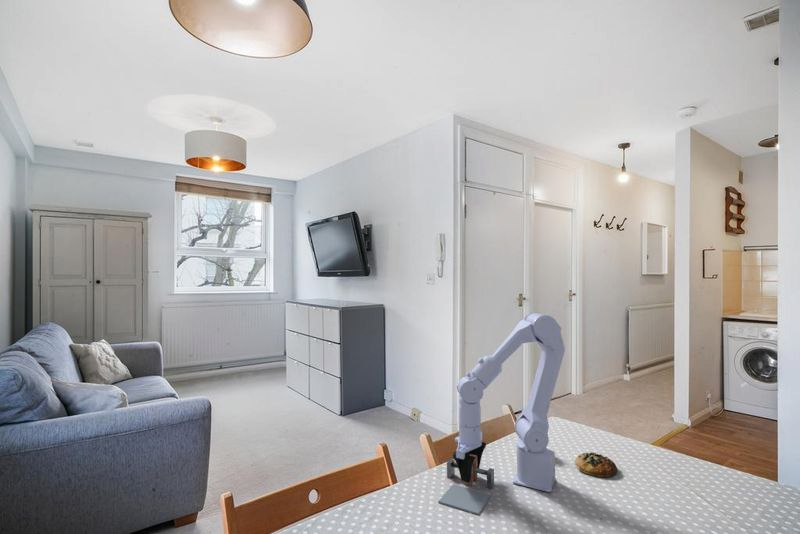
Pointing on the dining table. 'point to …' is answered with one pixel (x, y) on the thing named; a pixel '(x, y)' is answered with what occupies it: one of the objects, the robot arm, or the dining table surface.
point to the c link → (473, 474)
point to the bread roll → (595, 465)
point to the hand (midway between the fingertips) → (470, 475)
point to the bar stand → (490, 473)
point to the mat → (465, 499)
